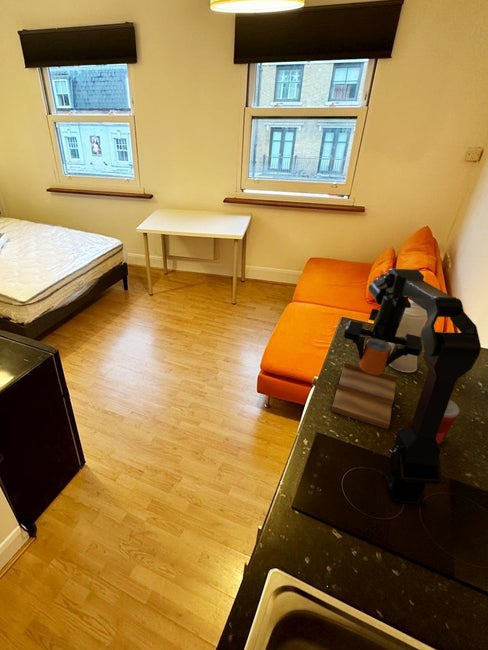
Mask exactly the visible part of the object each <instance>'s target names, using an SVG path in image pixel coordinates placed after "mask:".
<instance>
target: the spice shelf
mask: <svg viewBox="0 0 488 650" xmlns="http://www.w3.org/2000/svg"><path fill="white" fill-rule="evenodd" d="M397 380H398V375H395V374H391V373H389V372H385V371H383V373H381V374H379V375H372V374H368V373H366V372H364V371H363V370H362V369H361V368H360V366H359V364H354V363H351V362H348V361H345V362H344V364H343V368H342V371H341V375H340V378H339V381H338V385H337V389H336V392H335V396H334V399H333V403H332V405H331V409H330V411H331V412H333V413H337V414H339V415H342V416H346V417H348V418H352V419H355V420H357V421H361V422H364V423H367V424H370V425H373V426H376V427H379V428H383V429H385V430H388V429H389V427H390V426H391V417H392V409H393V408H392V407H393V405H394V401H395V394H396V384H397Z"/></svg>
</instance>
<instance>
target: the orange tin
mask: <svg viewBox="0 0 488 650" xmlns="http://www.w3.org/2000/svg"><path fill="white" fill-rule="evenodd" d="M391 350H392V347H391V345H390V344H389V343H388V342H385V341H381V340H377V339H372V338H369V339H368V340H367V341H366V343H365V345H364V350H363V355H362V359H361V360H359V364H358V365H359V366H360V368H361V369H362V370H363V371H364V372H366V373H368V374H372V375H379V374H381V373H383V372H385V368H386V363H387V361H388V358H389V355H390V353H391Z"/></svg>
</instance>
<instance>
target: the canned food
mask: <svg viewBox="0 0 488 650" xmlns="http://www.w3.org/2000/svg"><path fill="white" fill-rule="evenodd" d="M459 414H460V407H459V406H458V405H457V403H455V401H453V400H452V399H450V401H449V403H448V406H447V409H446V412H445V414H444V417H443V420H442V423H441V425H440V428H439V431H438V434H437V437H436V440H437V442H438V444H439V445H440V444H441V443H442V442H444V440H445V438H446V437H447V436H448V433H449V431H450V430H451V428H452V426H453V424H454V423H455V421H456V419H457V418H458V415H459Z"/></svg>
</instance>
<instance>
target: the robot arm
mask: <svg viewBox="0 0 488 650" xmlns="http://www.w3.org/2000/svg"><path fill="white" fill-rule="evenodd" d="M424 279H425V276H424V274H423V273H422V272H421V271H420V270H418V269H417V268H416V269H415V268H389V269H388V272H386V273H385V274H383V273H381V274H379V277H377V278H376V279H374V280H373V281H372V282H370V283H369V285H368V292H369V293H370V295H371V296H372V298H373V299H374V301H375V302H376V303H377V305H379V308H373V307H372V308H371V310H370V313H369V315H368V320H369V321H373V324H372V326H371V328H372V330H371V329H367V328H363V325H364V323H362V322H357V321H353V320H349V321H347V323H346V326H345V329H344V333H343V336H342V337H343V338H344V339H346V340H349V341H352V344H353V343H354V344H355V345H356V348H357V352H358V358H359V361H361V359H362V355H363V352H364V349H365V344H366V343H365V342H366V338H369V339H377V340H381V341H385V342H387V343H388V342H389V343H394V344H395V346H394V348H393V350H392V352H391V354H390V355H389V358H388V361H387V363H386V366H385V368H386V367H388V366H390V365H389V364H391V363H392V362H393V361H394V360H396V359H397V358H399V357H401V356H402V355H404V356H407V355H408V354H411V355H415V356H417V357H419V356H421V353H422V351H423V354H422V358H423V361H424V363H425V366H426V368H427V372H426V376H425V380H424V383H423V386H422V389H421V392H420V395H419V398H418V402H417V404H416V407H415V410H414V414H413V417H412V419H411V424H410V426H409V428H402V427H400V428H399V429H398V430H397V432H396V437H395V439H394V440H393V443H394V444H393V446H392V448H391V453H390V459H389V467H390V470H389V474H390V475H386V476H385V480H386V484H387V487H388V491H389V493H390V496H391V499H392V501H393V502H395V503H402V504H408V505H415V506H424V504H425V503H424V500H423V497H422V494H423V492H424V490H425V489H426V484H428V485H435V486H436V485H437V486H438V485H439V484H441V483H442V482H443V481H442V468H441V452H442V449H441V447H440V443H439V444H438V442H437V440H436V437H437V434H438V431H439V428H440V425H441V423H442V420H443V417H444V414H445V412H446V409H447V406H448V403H449V401H450V400H451V398H452V394H453V392H454V389H455V386H456V384H457V381H458V380H459V379H460V378H462V377H463V376H464V375H466V374H467V373H468V372H469V371H471V370H472V369H473V368H474V366H475V364H476V362H477V360H478V358H479V356H480V354H481V350H482V345H481V344H482V343H481V341H480V336H479V332H478V331H479V330H478V327H477V324H475V323H474V321H473V320H472V319H471V317H469V316H468V315H467V313H466V312H465V310H464V305H463V302H462V300H461V299H460V298H458V297H456V296H451V295H450V294H448V293H446V292H444V291H443V290H441V289H439V288H437V287H436V286H433V285H431V284H430V283H429V282H426V281H425V280H424ZM410 300H412V301H413V302H415V303H416V304H417V305H419V306H420V307H422V308H423V309H425V310H426V312H427V319H426V321H425V323H424V326H423V329H422V331H421V336H420V337H419V336H415V335H410V334H406V336H405V337H402V336H401V337H397V336H396V333H397V330H398V328H399V325H400V322H401V320H402V317H403V314H404V312H405V309H406V308H411V303H410V302H409V301H410ZM438 318H449V319H450V321H451V323H452V324H454V326H455V327H456V328H457V329H458V331H459V332H455V331H454V332H451V331H436V330H435V329H436V328H435V324H436V322H437V320H438ZM460 332H461V333H460Z"/></svg>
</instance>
